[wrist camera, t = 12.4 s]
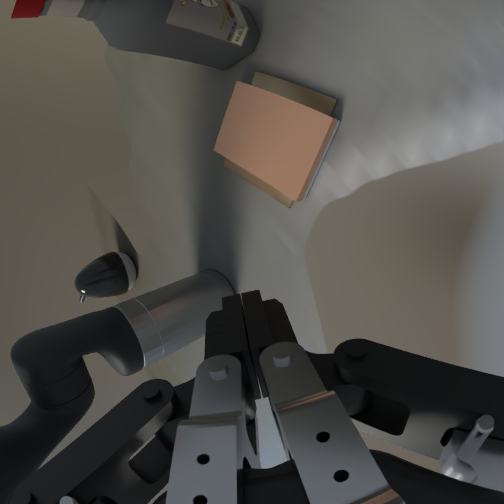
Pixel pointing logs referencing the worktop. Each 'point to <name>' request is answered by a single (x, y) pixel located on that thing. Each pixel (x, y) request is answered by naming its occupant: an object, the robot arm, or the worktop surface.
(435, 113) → the worktop surface
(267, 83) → the mat
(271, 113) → the tile
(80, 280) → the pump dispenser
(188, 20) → the liquor
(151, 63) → the worktop surface
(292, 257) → the worktop surface
